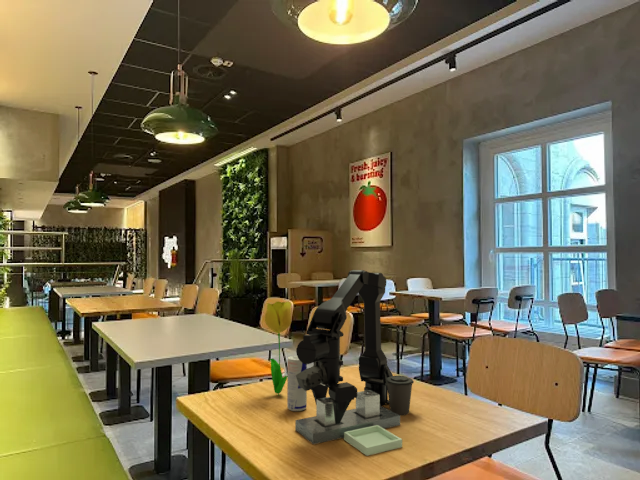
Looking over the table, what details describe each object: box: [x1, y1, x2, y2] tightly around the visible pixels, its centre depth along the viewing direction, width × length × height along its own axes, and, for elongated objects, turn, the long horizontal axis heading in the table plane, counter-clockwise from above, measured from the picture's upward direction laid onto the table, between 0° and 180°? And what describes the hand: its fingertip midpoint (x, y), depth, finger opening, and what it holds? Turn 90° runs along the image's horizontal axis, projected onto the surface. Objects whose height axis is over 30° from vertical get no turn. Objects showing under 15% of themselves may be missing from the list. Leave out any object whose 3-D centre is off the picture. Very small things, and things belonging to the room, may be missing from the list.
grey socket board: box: [294, 405, 401, 445], centre depth 119 cm, size 26×10×2 cm, turn 118°
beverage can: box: [286, 355, 308, 412], centre depth 133 cm, size 6×6×15 cm
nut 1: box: [315, 396, 341, 428], centre depth 116 cm, size 5×5×8 cm
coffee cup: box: [385, 375, 414, 416], centre depth 130 cm, size 8×8×10 cm
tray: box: [343, 425, 403, 457], centre depth 109 cm, size 10×10×2 cm
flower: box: [264, 301, 292, 397], centre depth 145 cm, size 9×8×30 cm
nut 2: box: [355, 390, 381, 419], centre depth 122 cm, size 5×5×8 cm
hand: (328, 417), depth 116 cm, fingers open, 9 cm apart
